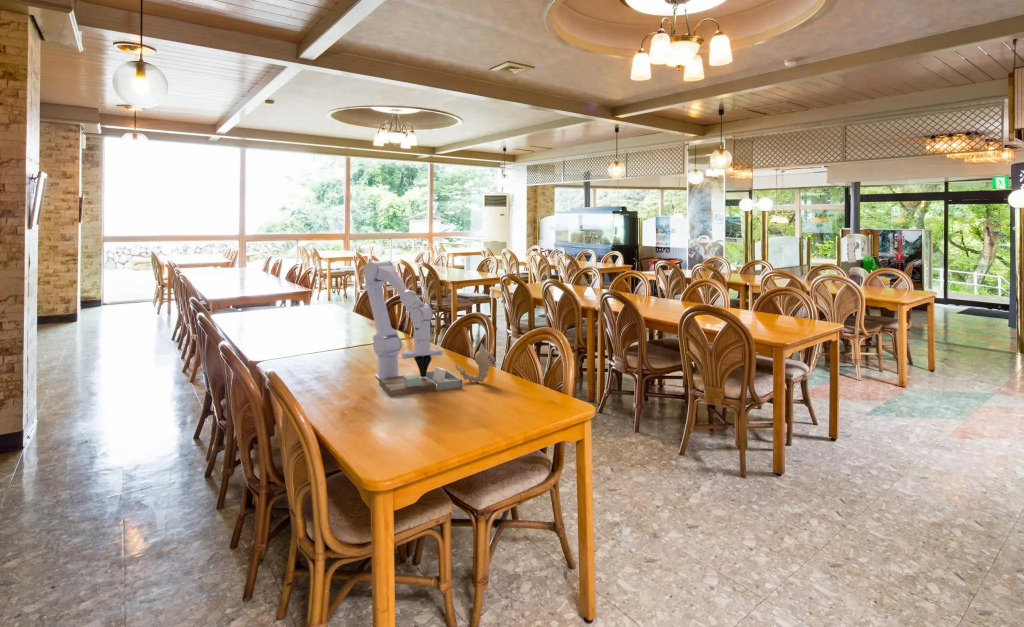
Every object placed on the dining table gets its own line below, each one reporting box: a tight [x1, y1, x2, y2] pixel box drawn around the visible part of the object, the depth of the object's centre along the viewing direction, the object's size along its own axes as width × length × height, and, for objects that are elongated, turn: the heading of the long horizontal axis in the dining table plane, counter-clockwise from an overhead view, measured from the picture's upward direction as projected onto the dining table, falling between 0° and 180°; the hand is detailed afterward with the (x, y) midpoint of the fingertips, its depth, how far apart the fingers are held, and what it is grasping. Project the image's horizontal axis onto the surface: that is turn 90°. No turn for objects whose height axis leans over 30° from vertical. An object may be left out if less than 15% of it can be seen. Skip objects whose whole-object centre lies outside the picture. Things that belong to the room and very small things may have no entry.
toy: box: [455, 342, 496, 384], centre depth 213 cm, size 6×15×15 cm, turn 78°
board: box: [378, 373, 437, 398], centre depth 207 cm, size 17×16×2 cm
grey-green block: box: [403, 374, 421, 387], centre depth 202 cm, size 4×4×3 cm
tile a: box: [433, 366, 446, 382], centre depth 214 cm, size 4×4×3 cm
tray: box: [426, 368, 463, 392], centre depth 212 cm, size 17×9×3 cm, turn 26°
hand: (423, 376), depth 211 cm, fingers closed
